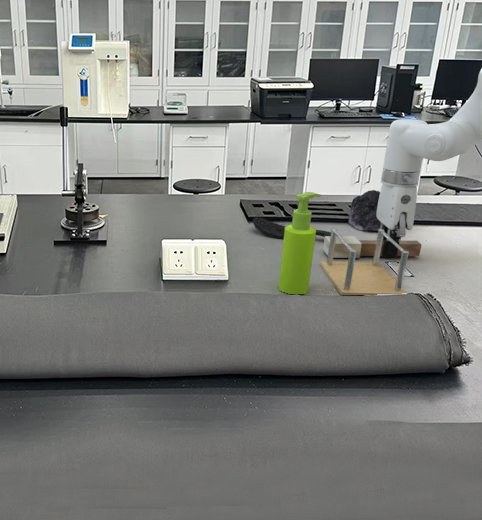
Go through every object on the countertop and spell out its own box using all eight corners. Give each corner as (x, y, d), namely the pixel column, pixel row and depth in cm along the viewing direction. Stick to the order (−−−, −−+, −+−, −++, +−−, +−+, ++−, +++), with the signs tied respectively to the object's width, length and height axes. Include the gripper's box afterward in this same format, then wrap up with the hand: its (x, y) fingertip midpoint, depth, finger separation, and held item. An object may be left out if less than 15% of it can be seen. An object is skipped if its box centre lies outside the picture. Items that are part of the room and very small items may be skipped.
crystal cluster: (394, 240, 137) (406, 202, 133) (341, 226, 143) (350, 190, 139) (400, 229, 148) (411, 194, 144) (350, 217, 154) (359, 183, 150)
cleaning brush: (412, 250, 127) (415, 236, 125) (421, 258, 122) (424, 244, 121) (323, 249, 128) (324, 236, 127) (328, 257, 123) (330, 243, 122)
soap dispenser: (317, 289, 109) (330, 194, 101) (295, 298, 105) (307, 200, 97) (294, 279, 113) (305, 188, 105) (272, 287, 109) (282, 193, 102)
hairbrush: (350, 239, 127) (249, 219, 138) (347, 253, 129) (247, 232, 139) (355, 229, 134) (258, 210, 144) (352, 243, 135) (256, 223, 146)
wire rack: (378, 265, 120) (385, 227, 116) (407, 297, 105) (417, 254, 102) (320, 264, 121) (325, 226, 117) (341, 296, 106) (348, 253, 102)
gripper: (434, 186, 110) (417, 267, 117) (402, 169, 125) (389, 242, 132) (397, 185, 111) (382, 267, 118) (370, 169, 126) (358, 242, 132)
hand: (386, 253), depth 125 cm, fingers closed on cleaning brush, 2 cm apart
